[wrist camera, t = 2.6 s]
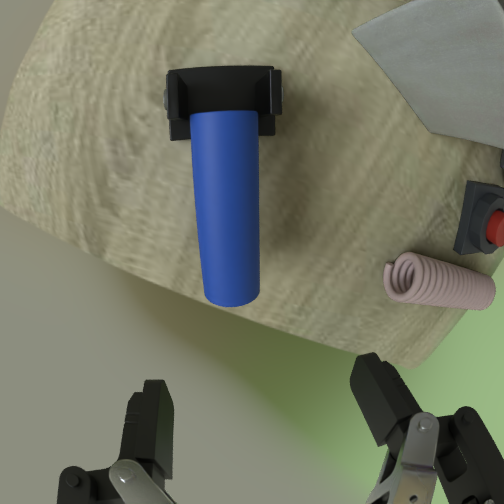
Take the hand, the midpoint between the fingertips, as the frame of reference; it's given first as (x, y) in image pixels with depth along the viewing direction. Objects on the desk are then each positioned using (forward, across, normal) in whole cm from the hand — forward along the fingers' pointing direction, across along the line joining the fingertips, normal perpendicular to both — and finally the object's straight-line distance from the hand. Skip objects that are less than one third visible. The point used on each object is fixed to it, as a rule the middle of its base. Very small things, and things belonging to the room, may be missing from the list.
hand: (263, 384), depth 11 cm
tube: (+10, +1, -5) cm, 11 cm away
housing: (+13, -27, -2) cm, 30 cm away
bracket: (+13, 0, -11) cm, 17 cm away
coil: (+13, -22, +5) cm, 26 cm away
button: (+10, -27, -2) cm, 29 cm away
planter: (+13, -18, -14) cm, 26 cm away
